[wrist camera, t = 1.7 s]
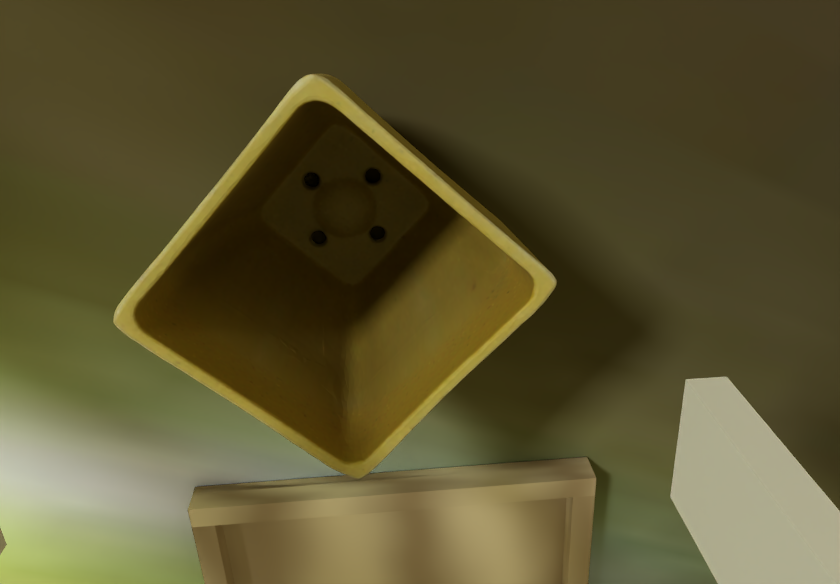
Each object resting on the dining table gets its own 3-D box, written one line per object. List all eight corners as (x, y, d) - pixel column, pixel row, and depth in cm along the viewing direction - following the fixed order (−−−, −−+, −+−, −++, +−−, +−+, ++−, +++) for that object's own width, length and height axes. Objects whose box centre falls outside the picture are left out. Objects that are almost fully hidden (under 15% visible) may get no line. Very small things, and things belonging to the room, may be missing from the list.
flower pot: (330, 29, 25) (310, 64, 17) (508, 189, 28) (566, 287, 19) (183, 213, 27) (102, 323, 19) (360, 343, 30) (357, 487, 22)
